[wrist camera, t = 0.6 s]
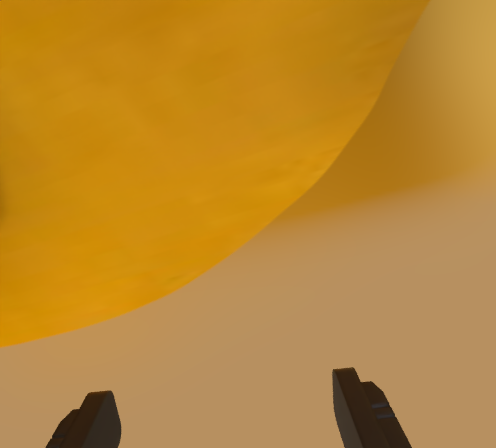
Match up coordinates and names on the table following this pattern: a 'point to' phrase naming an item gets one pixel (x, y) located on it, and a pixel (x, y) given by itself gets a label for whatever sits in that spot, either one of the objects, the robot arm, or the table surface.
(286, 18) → the table surface
